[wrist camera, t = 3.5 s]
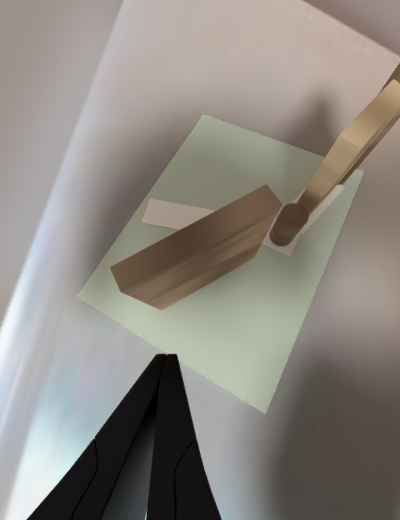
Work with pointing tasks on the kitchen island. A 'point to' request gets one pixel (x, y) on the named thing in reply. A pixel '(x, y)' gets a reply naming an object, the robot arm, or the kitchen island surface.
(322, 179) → the tan piece
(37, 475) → the kitchen island surface
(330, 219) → the card
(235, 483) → the kitchen island surface
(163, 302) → the tan wooden plank
